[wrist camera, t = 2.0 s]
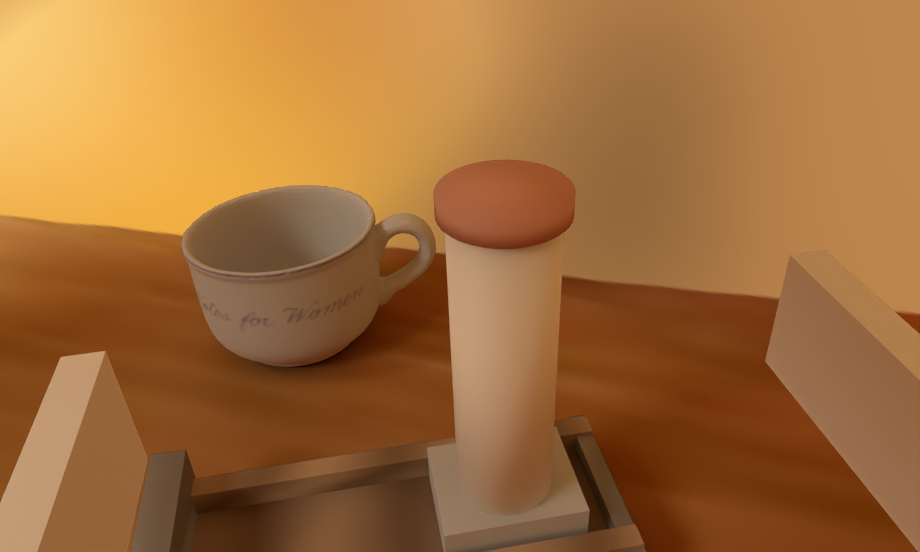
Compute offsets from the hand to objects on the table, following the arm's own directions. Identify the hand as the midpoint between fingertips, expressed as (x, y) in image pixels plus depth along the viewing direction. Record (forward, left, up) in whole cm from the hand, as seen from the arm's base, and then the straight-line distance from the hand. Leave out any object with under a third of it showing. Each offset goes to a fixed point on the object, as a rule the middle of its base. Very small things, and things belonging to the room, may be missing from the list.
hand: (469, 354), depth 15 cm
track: (-2, +10, -19) cm, 22 cm away
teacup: (-4, +26, -19) cm, 33 cm away
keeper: (+3, +10, -18) cm, 21 cm away
